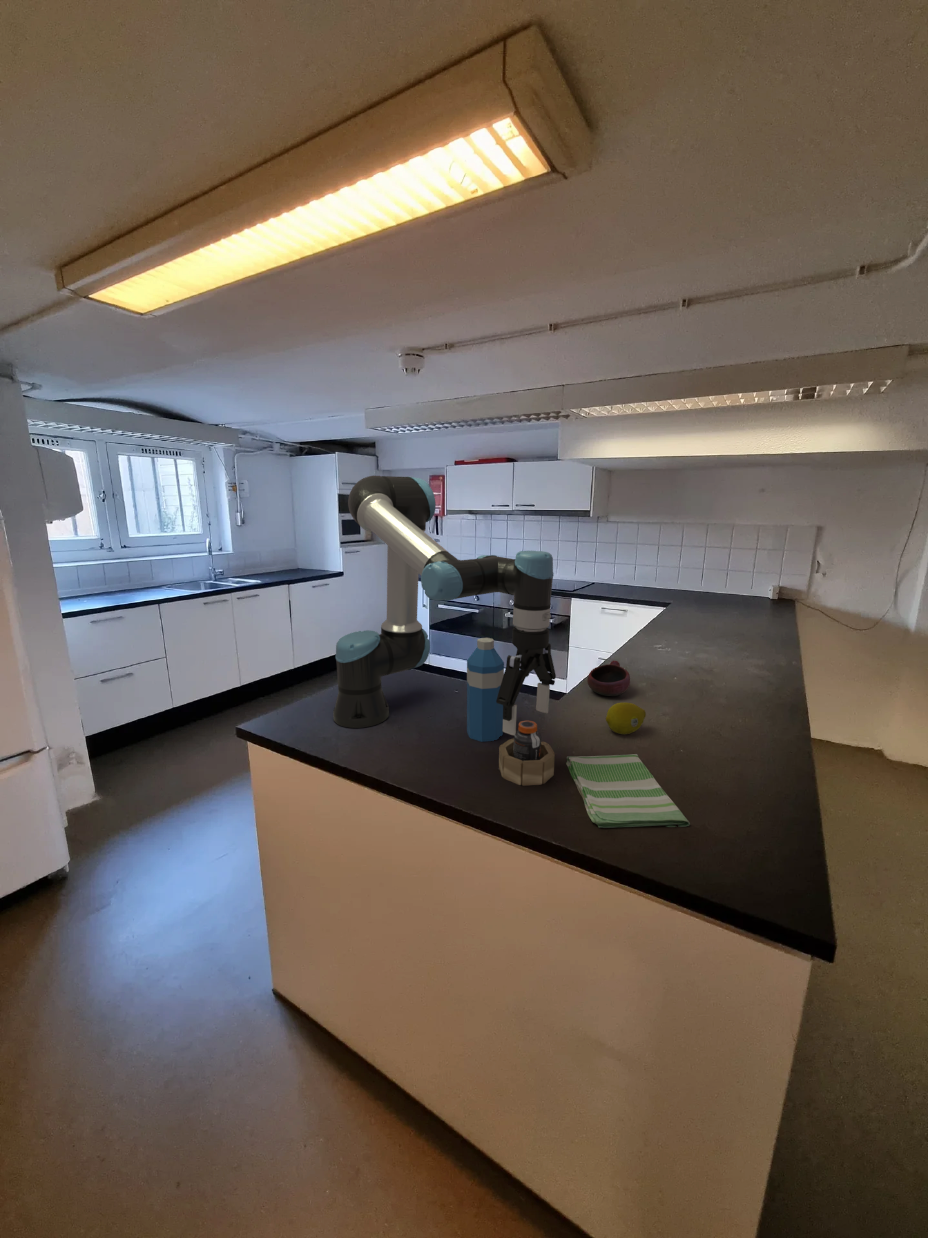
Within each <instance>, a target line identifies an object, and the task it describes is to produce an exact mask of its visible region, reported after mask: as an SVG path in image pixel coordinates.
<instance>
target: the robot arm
mask: <svg viewBox="0 0 928 1238" xmlns="http://www.w3.org/2000/svg"><path fill="white" fill-rule="evenodd" d="M347 504H348V505H347V506H348V510H349V513H350V515H351V517H352V518H353V520H354V521H355V523H357V525H359V527H361V528H362V529H363V530H364V531H367V532H372V533H374V534H375V535H376V536H377V537H378V538H379V539H380V540H382V542H383V543H384V544H385V545H387V557H386V558H387V561H386V563H387V565H386V566H387V569H386V575H387V576H386V620H384V621H383V622H382V623H381V624H380V629H381V630H380V633H378V632H377V631H375V630H368V629H367V630H362V631H361V630H358V631H354V632H350V633H348V634H345V635H343V636H342V637H341V638H339V639H338V640H337V642H336V645H335V657H334V658H335V661H336V675H337V691H338V694H337V697H336V700H335V701H336V702H335V704H334V705H335V706H334V708H333V712H332V716H333V717H332V718H333V722H335V724H336V725H338V726H340V727H344V728H350V729H361V728H368V727H373V726H376V725H378V724H382V723H383V722H384V721H386V720H387V719H388V718H389V716H390V707H389V703H388V702H387V699H386V696H385V694H384V691H383V689H382V678H383V677H385V676H389V675H392V674H397V673H400V672H404V671H412V670H413V669H415V668H418V667H420V666H423V664H425V662H426V661H427V660H428V657H429V654H430V651H431V642H430V639H429V638H428V637H429V635H428V633H427V631H425V629H423V625H422V623H421V622H420V621H418V603H419V602H418V600H419V576H421V577H420V583H421V588H422V589H423V590H424V594H425V596H426V597H427V598H428V599H430V600H432V601H434V602H435V601H436V602H438V601H439V602H440V601H447V602H448V601H453V600H457V599H463V598H468V597H474V596H480V595H481V596H482V595H487V594H493V593H501V594H505V595H509V596H513V613H512V614H513V615H512V625H513V628H512V637H511V638H512V639H511V642H512V645H513V646H514V647H515V648H516V654H515V655H514V656H513V655H510V654H509V655H507V656H506V662H505V663H506V666H505V668H504V676H503V679H502V683H501V686H500V689H499V693H498V696H497V700H496V703H498V704H501V705H503V733H505V734H508V735H511V736H513V737H514V735H515V734H516V731H517V712H518V711H517V709H518V708H517V707H518V704H515V703H516V701H517V698H518V696H519V694H520V691H521V689H522V686H523V684H524V683H525V682H524V681H525V679H526V678H528V677H529V675H530V673H532V672H533V671H534V673H535V675H536V677H537V679H538V681H539V682H538V683H537V684H536V685H537V687H536V688H537V689H536V703H535V705H536V706H535V710H536V711H537V712H540V713H543V714H548V713H549V703H550V688H551V687H550V686H555V684H556V683H555V682H556V680H555V679H556V677H557V675H556V670H555V665H554V662H553V661H554V660H553V657H552V656H553V655H552V651H551V649H552V648H551V647H552V644H551V643H549V642H550V629H549V628H548V627H550V624H551V622H550V620H551V618H552V615H551V605H552V603H551V601H552V590H553V578H554V574H555V573H554V557H553V556H552V554H551V553H550V552H548V551H543V550H520V551H518V552H516V554H515V558H508V557H503V556H498V555H495V554H491V555H489V554H488V555H485V554H482V555H480V556H478V557H477V558H469V559H458V558H457V557H456V556H454V555H453V554H452V553H450V552H449V551H448V550H446V549H445V548H444V547H443V546H442V545H440V544H439V543H438V542H437V541H435V539H434V538H432V537H431V536H429V534H427V533H426V532H425V531H426V527H427V523H428V522H429V521H431V520H432V519H433V517H434V515H435V513H436V507H437V506H436V505H437V503H436V497H435V494H434V491H433V489H432V487H431V486H430V485H429V483H428V482H427V481H426V480H424V479H423V478H420V477H414V476H388V475H387V476H385V475H369V476H366V477H363V478H361V479H359V480H358V481H357V482H356V483H355V484H354V485H353V486H352V488H351V489H350V492H349V495H348V501H347Z"/></svg>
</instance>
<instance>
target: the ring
mask: <svg viewBox="0 0 928 1238" xmlns="http://www.w3.org/2000/svg"><path fill="white" fill-rule="evenodd" d="M498 749H499V750H498V751H499V752H498V753H499V754H498V768H499V771H500V775H501V777H502V778H503V779H504V780H506V781H509V782H512V783H513V784H515V785H518V786H522V787H523V786H524V787H525V786H526V787H527V786H539V785H541V786H542V785H545V784H546V783H547V782H548V781H549V780H550V779H551V778H553V776H554V775H555V755H556V754H555V752H554V750H553V748H552V746H551V745H550V744H549V742H546V741H543V740H541V758H540V760H529V761H522V760H519V759H517V758H514V757H513V751H514V738H511V739H508V740H506V741H505V742H504V743H502V744H500V745H499V747H498Z"/></svg>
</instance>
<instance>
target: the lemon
mask: <svg viewBox="0 0 928 1238" xmlns="http://www.w3.org/2000/svg"><path fill="white" fill-rule="evenodd" d="M646 717H647V713H646V710H645V709H644V708H642V707H640V706H639V705H636V704H635V703H631V702H624V701H623V702H617V703H615V704H612V705H611V706H610V707H609V708H608V710H607V713H606V716H605V722H606V723H607V725H608V728H610V730H611V731H612V732H614V733H616V734H619V735H630V734H633V733H635V732H636V731H638V730H639V729H640V727H642V725H643V723H644V721H645V718H646Z"/></svg>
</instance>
